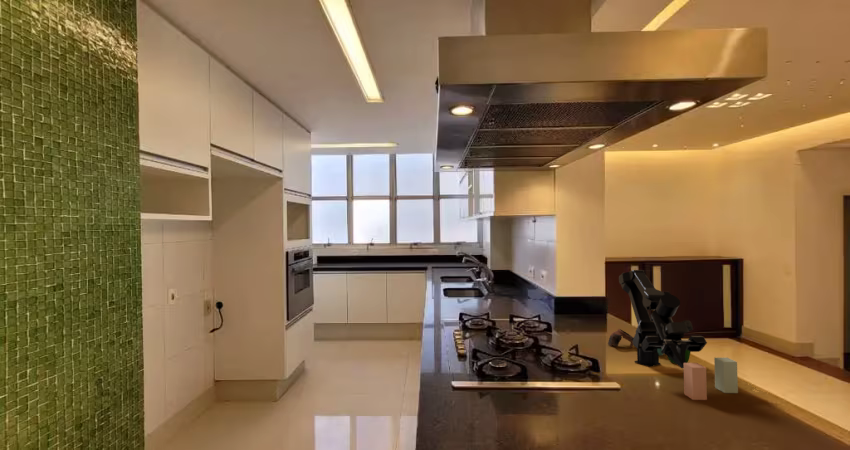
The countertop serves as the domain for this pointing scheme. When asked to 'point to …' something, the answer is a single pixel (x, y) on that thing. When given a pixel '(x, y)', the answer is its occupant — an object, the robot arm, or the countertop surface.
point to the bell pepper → (687, 355)
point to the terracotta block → (695, 381)
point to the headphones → (619, 338)
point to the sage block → (726, 375)
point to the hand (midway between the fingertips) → (683, 367)
